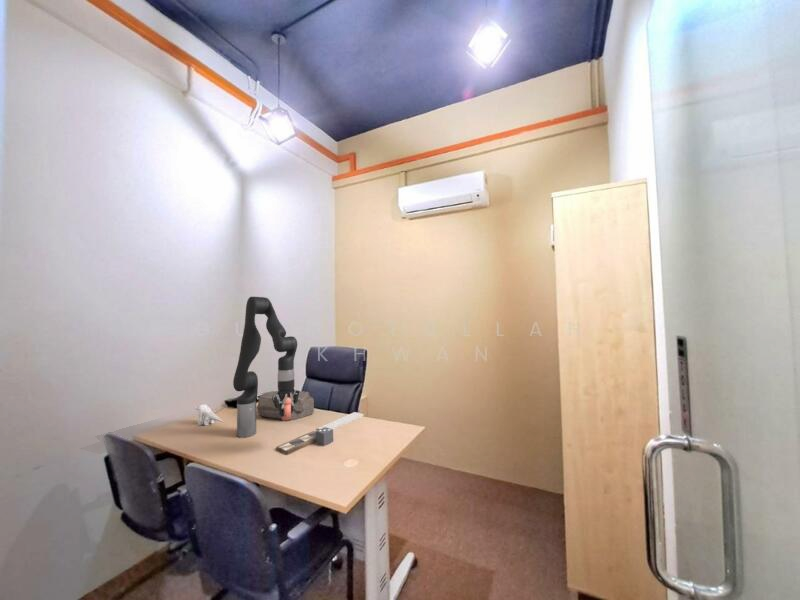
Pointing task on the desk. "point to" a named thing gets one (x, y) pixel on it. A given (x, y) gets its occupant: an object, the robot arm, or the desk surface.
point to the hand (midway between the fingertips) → (286, 414)
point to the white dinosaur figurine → (206, 415)
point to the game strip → (297, 443)
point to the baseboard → (342, 421)
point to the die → (324, 436)
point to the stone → (268, 408)
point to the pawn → (287, 409)
